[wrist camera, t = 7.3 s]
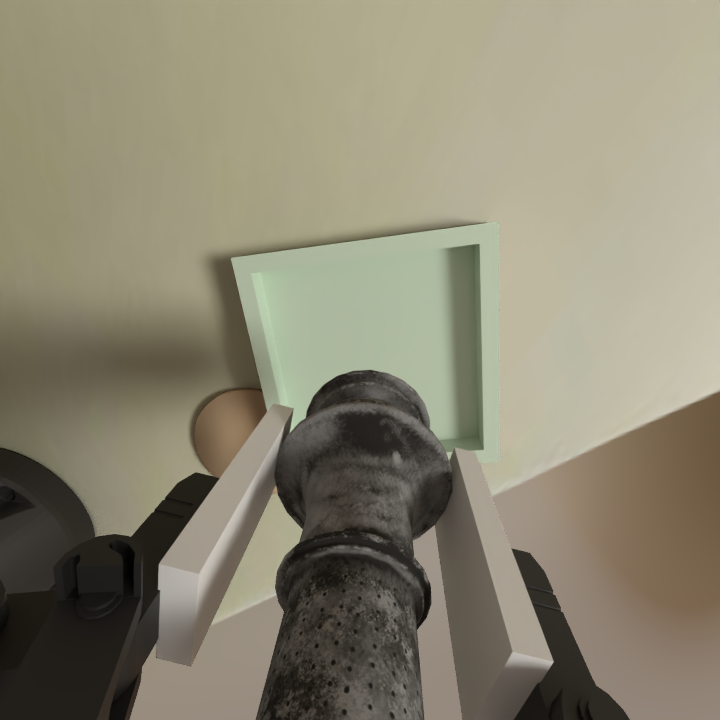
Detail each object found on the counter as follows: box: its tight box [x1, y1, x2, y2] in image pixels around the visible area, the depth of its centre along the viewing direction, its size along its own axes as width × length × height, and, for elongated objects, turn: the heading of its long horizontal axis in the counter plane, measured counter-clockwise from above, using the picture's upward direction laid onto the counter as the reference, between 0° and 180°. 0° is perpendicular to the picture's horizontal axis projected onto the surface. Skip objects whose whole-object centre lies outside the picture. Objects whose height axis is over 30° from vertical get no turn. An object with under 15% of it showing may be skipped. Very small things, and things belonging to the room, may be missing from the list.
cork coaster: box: [194, 389, 278, 494], centre depth 27 cm, size 9×9×1 cm
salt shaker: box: [256, 370, 452, 720], centre depth 9 cm, size 6×6×12 cm
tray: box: [231, 221, 500, 463], centre depth 23 cm, size 15×15×2 cm
